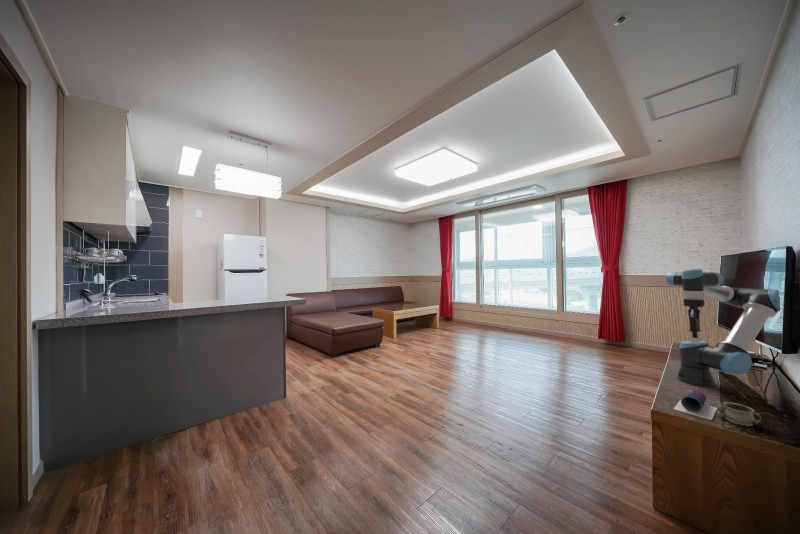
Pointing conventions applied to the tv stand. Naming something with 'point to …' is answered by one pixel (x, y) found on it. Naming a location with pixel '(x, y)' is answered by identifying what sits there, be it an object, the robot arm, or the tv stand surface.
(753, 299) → the robot arm
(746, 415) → the vessel
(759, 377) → the tv stand surface
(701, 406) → the cup
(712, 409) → the mat
